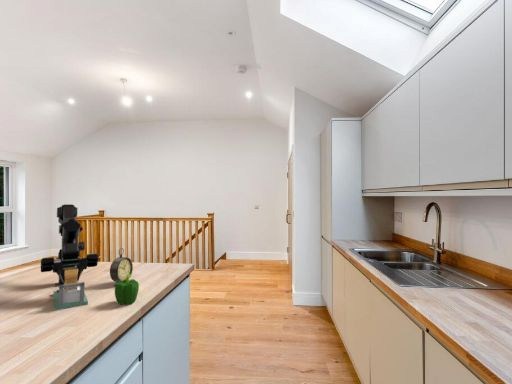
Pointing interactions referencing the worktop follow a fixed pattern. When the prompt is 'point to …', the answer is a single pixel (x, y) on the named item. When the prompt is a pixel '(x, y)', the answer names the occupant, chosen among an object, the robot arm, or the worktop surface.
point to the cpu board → (67, 305)
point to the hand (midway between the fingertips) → (71, 281)
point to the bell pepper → (126, 291)
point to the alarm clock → (121, 268)
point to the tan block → (71, 278)
